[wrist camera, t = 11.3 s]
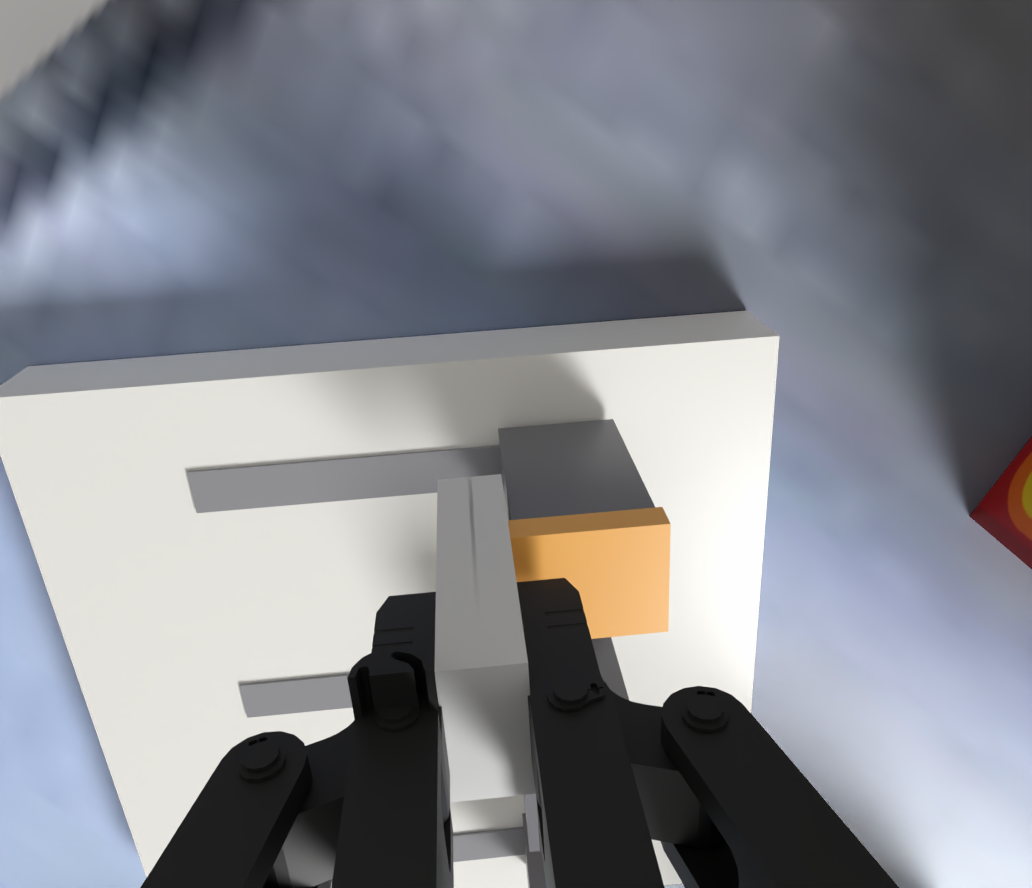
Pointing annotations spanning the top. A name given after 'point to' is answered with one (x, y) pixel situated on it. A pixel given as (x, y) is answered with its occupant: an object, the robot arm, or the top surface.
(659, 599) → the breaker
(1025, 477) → the baking soda box
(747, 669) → the white slider panel
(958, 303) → the top surface
